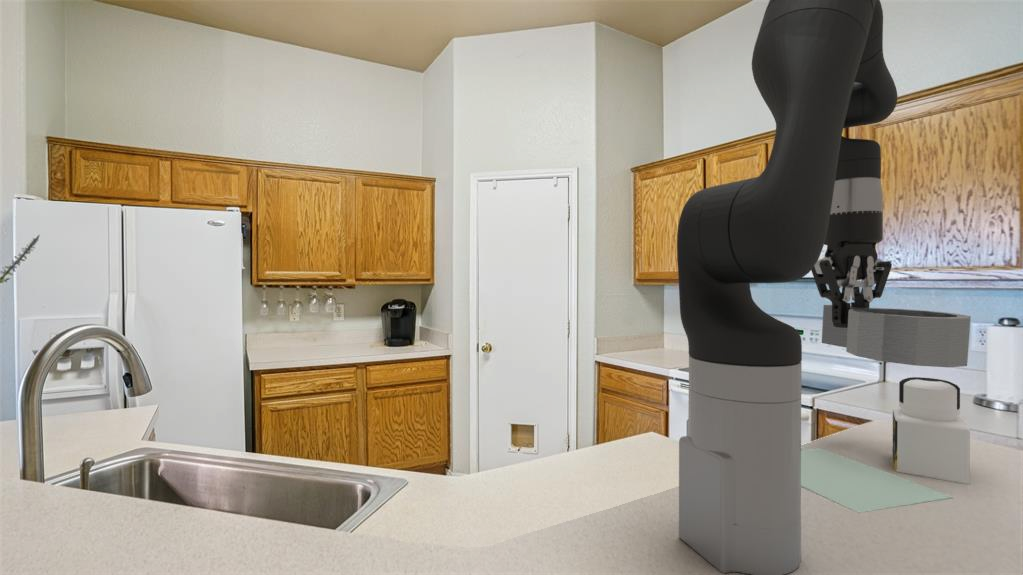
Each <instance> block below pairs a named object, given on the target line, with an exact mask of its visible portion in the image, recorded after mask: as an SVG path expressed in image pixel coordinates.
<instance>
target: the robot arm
mask: <svg viewBox="0 0 1023 575" xmlns="http://www.w3.org/2000/svg"><path fill="white" fill-rule="evenodd" d="M883 31H884V10H883V7H882V3H881V0H769V1H768V3H767V6H766V9H765V11H764V14H763V18H762V21H761V24H760V27H759V32H758V34H757V37H756V40H755V44H754V47H753V52H752V58H751V71H752V76H753V80H754V83H755V85H756V87H757V90H758V92H759V93H760V95H761V97H762V100H763V101H764V103H765V104H766V106H767V108H768V109H769V111H770V113H771V115H772V117H773V119H774V123H775V134H774V139H773V144H772V149H771V151H770V156H769V158H768V162H767V163H766V166H765V168H764V169H763V171H762V172H761V174H760V175H758V176H756V177H752V178H747V179H742V180H736V181H732V182H728V183H724V184H718V185H713V186H709V187H706V188H703V189H701V190H698V191H696V192H694V193H693V194H692V195H691V196H690V197H689V198H688V200H687V201H686V203H685V204H684V206H683V208H682V211H681V214H680V216H679V219H678V225H677V226H678V227H677V234H676V253H677V254H676V255H677V256H676V260H677V261H676V262H677V275H678V278H677V279H678V293H679V294H678V296H679V313H680V320H681V325H682V328H683V331H684V332H685V335H686V338H687V341H688V342H687V343H688V344H687V346H688V414H687V415H688V416H687V417H688V422H687V423H688V425H687V426H688V427H687V428H688V429H687V430H688V431H687V433H688V434H687V435H685V436H684V435H683V436H680V438H679V440H678V537H679V538H680V539H681V540H682V541H683V542H685V543H686V544H687V545H688V546H689V547H690V548H692V549H693V550H694V551H695V552H697V554H699V555H700V556H701V557H703V559H705V560H706V561H707V562H709V564H711V565H712V566H713V567H715V568H716V569H717V570H718V571H719V572H720V573H724V574H726V573H731V572H732V573H733V572H734V573H742V574H748V575H787V574H789V573H792V572H795V570H797V568H799V567H800V565H801V561H802V559H801V558H802V555H801V554H802V487H801V450H802V369H803V368H802V367H803V366H802V361H803V360H802V359H803V358H802V357H803V356H802V355H803V349H802V348H803V345H802V344H803V343H802V337H801V333H800V332H799V331H798V330H797V328H795V327H793V326H792V325H790V324H788V323H785V322H783V321H781V320H780V319H777V318H775V317H774V316H771V315H769V314H768V313H767V312H765V311H764V310H763V309H761V307H760V306H759V305H757V303H756V302H755V300H754V299H753V297H752V296H753V295H752V292H751V284H772V283H773V284H778V283H779V284H781V283H790V282H795V281H798V280H801V279H802V278H805V276H807V275H808V274H809V273H810V272H811V274H812V277H813V279H814V282H815V285H816V287H817V291H818V293H819V296H820V297H821V298H825V299H828V300H829V301H830V302H831V305H832V322H833V325H834V326H835V327H840V328H848V312H849V309H850V306H856V307H866V308H870V303H871V302H873V300H874V299H876V298H878V299H879V298H881V297H882V296H883V293H884V290H885V288H886V284H887V281H888V278H889V275H890V272H891V269H892V266H893V264H892V262H891V261H889V260H885V261H883V260H882V259H880V258H879V257H878V253H877V250H876V245H877V244H879V243H881V242H882V241H883V236H884V234H883V231H884V230H883V224H884V223H883V222H884V219H883V218H884V215H883V214H884V211H883V210H884V208H883V207H884V206H883V205H884V195H883V194H884V193H883V188H882V180H881V179H882V178H881V177H882V149H881V145H880V143H879V142H877V141H876V140H874V139H866V138H863V139H862V138H851V137H850V138H849V137H845V136H843V131H844V129H848V128H849V129H850V128H855V127H859V126H866V125H868V126H869V125H873V124H874V125H875V124H878V123H881V122H883V121H884V120H886V119H888V118H889V117H890V115H892V113H893V112H894V110H895V109H896V107H897V103H898V91H897V90H898V89H897V87H896V84H895V81H894V78H893V77H892V74H891V73H890V72H891V71H889V69H888V66H887V64H886V61H885V57H884V48H883V44H884V43H883V39H884V38H883V37H884V32H883ZM824 246H826V250H825V253H824V257H822V258H820V256H821V253H822V251H823V248H824ZM819 258H820V259H819ZM874 285H875V286H874ZM827 286H828V287H827ZM873 286H874V289H873ZM840 288H842V289H841V290H840ZM860 288H861V290H860ZM850 300H852V301H853V302H852V301H851V302H850Z"/></svg>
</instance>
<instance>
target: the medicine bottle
mask: <svg viewBox="0 0 1023 575" xmlns="http://www.w3.org/2000/svg"><path fill="white" fill-rule="evenodd" d="M898 385H899V386H898V387H899V388H898V390H899V391H898V393H899V395H898V401H899V402H898V403H899V405H898V406H899V407H893V409H892V459H893V465H894V470H895V472H896V473H900V474H906V475H913V476H917V477H923V478H924V477H925V478H928V479H929V478H930V479H936V480H941V481H946V482H953V483H959V484H963V485H970V481H971V479H970V478H971V429H970V427H969V426H968V424H967V422H965V420H964V419H963V417H962V416H961V415H960V414H961V388H960V387H959V385H957V384H955V383H954V382H951V381H948V380H945V379H938V378H933V377H932V378H931V377H917V376H916V377H915V376H912V377H911V376H910V377H906V378H902V379H901V380H900V381H899V384H898Z"/></svg>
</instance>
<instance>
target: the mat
mask: <svg viewBox="0 0 1023 575" xmlns="http://www.w3.org/2000/svg"><path fill="white" fill-rule="evenodd" d="M801 488H802V489H805V490H807V491H809V492H812V493H814V494H816V495H818V496H820V497H822V498H825V499H826V500H829V501H831V502H833V503H836V504H838V505H839V506H840V505H841V506H842V507H844V508H847V509H848V510H851V511H853V512H855V513H858V514H861V513H866V512H867V513H869V512H873V511H880V510H885V509H892V508H894V509H895V508H899V507H906V506H911V505H918V504H925V503H931V502H932V503H933V502H936V501H937V502H938V501H943V500H949V499H954V496H952V495H950V494H947V493H944V492H942V491H939V490H935V489H933V488H932V487H931V488H930V487H928V486H925V485H922V484H920V483H918V482H914V481H912V480H908V479H906V478H903V477H900V476H898V475H895V474H893V473H889V472H888V471H884V470H881V469H878V468H876V467H874V466H872V465H868V464H867V463H866V464H865V463H862V462H860V461H858V460H854V459H851V458H849V457H846V456H843V455H840V454H837V453H835V452H834V451H830V450H828V449H824V448H822V447H816V448H809V449H808V448H807V449H801Z"/></svg>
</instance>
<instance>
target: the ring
mask: <svg viewBox="0 0 1023 575" xmlns="http://www.w3.org/2000/svg"><path fill="white" fill-rule="evenodd" d="M822 310H823V311H822V312H823V313H822V329H821V333H822V334H821V343H822V344H825V345H830V346H836V347H842V348H845V350H846V351H845V352H846V353H849V354H851V355H853V356H856V357H859V358H863V359H868V360H869V359H870V360H874V361H878V362H884V363H892V364H901V365H909V366H917V367H933V368H934V367H935V368H936V367H937V368H956V367H957V368H958V367H959V368H960V367H962V368H963V367H967V366H968V361H969V360H968V359H969V346H970V345H969V344H970V332H971V315H966V314H960V313H954V312H943V311H934V310H920V309H907V308H906V309H904V308H885V307H869V308H866V307H856V306H851V305H850V309H849V312H848V328H840V327H835V326H834V325H833V322H832V304H823V309H822Z"/></svg>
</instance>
